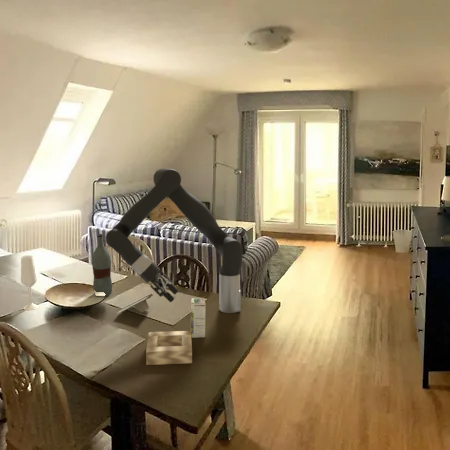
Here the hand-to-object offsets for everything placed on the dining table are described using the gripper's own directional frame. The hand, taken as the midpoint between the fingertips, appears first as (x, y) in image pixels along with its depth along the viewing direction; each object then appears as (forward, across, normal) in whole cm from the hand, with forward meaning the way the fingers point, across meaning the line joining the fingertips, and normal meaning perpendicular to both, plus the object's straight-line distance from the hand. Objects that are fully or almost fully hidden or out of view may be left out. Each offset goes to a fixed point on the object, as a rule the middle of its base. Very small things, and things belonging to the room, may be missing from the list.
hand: (174, 296), depth 193 cm
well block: (+12, -17, +10) cm, 23 cm away
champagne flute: (-39, +21, +61) cm, 76 cm away
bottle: (-20, +41, +42) cm, 62 cm away
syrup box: (+18, 0, +5) cm, 18 cm away
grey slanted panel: (-4, +21, +27) cm, 34 cm away
